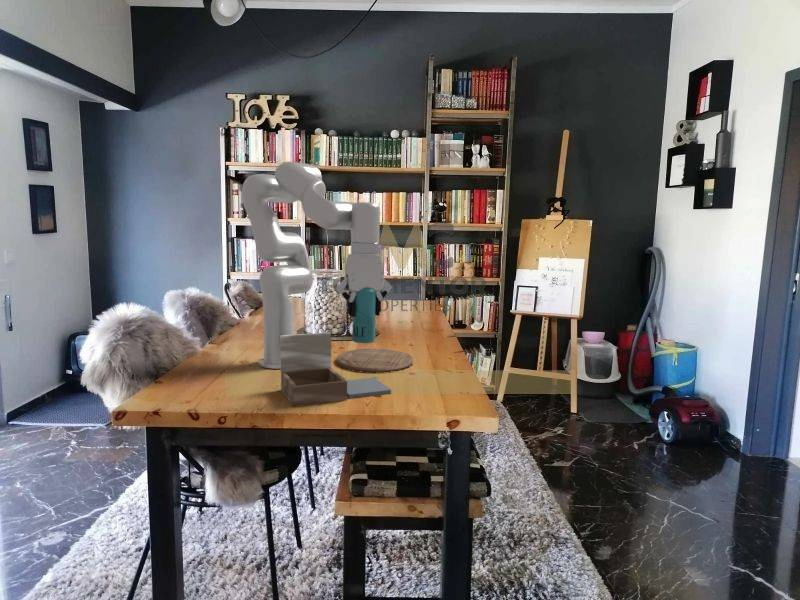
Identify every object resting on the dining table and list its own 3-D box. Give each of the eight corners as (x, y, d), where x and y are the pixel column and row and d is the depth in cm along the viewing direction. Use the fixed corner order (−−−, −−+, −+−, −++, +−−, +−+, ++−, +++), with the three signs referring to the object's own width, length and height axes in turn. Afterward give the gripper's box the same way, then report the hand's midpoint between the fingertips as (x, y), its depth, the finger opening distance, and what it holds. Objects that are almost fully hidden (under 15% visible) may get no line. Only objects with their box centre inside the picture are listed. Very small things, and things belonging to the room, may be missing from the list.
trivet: (404, 377, 159) (404, 370, 159) (326, 370, 164) (326, 364, 164) (418, 356, 184) (418, 351, 183) (349, 351, 189) (350, 346, 188)
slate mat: (335, 385, 148) (335, 381, 148) (374, 380, 153) (374, 377, 153) (349, 398, 138) (349, 394, 138) (391, 393, 143) (391, 389, 143)
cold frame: (280, 389, 144) (280, 335, 141) (329, 383, 149) (330, 332, 147) (293, 406, 130) (293, 347, 128) (346, 400, 136) (347, 343, 134)
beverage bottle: (375, 343, 147) (377, 272, 144) (375, 349, 140) (377, 274, 138) (352, 343, 147) (353, 271, 144) (350, 348, 140) (352, 274, 137)
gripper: (389, 248, 147) (387, 311, 149) (329, 248, 140) (329, 314, 142) (400, 250, 140) (398, 316, 143) (338, 250, 133) (338, 319, 135)
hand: (364, 315), depth 142 cm, fingers closed on beverage bottle, 6 cm apart
